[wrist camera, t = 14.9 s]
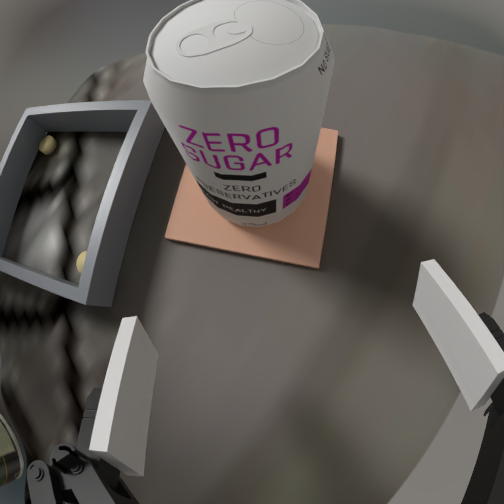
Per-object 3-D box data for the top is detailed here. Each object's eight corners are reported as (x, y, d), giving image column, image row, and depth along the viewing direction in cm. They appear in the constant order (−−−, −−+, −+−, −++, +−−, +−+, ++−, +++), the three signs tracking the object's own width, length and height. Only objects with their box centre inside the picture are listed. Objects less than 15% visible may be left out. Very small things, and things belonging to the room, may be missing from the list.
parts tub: (-4, 263, 26) (-29, 256, 22) (44, 125, 29) (26, 108, 25) (111, 307, 24) (85, 304, 20) (165, 125, 27) (152, 100, 23)
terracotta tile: (166, 239, 25) (164, 237, 24) (205, 115, 27) (204, 111, 26) (317, 269, 23) (318, 268, 23) (336, 134, 25) (338, 130, 25)
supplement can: (278, 123, 25) (276, -29, 11) (326, 203, 24) (381, 63, 9) (190, 160, 25) (119, 23, 11) (229, 247, 23) (161, 142, 9)
